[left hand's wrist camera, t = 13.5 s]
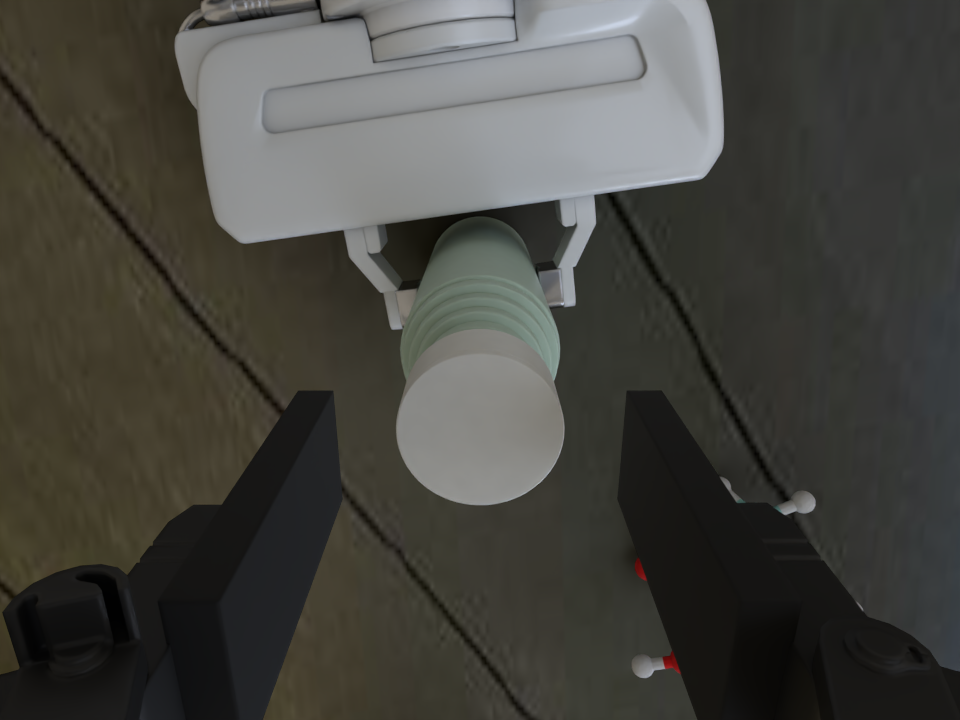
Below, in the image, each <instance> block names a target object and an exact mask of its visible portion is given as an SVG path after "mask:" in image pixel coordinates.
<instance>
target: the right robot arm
mask: <svg viewBox="0 0 960 720" xmlns="http://www.w3.org/2000/svg"><path fill="white" fill-rule="evenodd" d="M321 9H322V11H321ZM268 17H269V18H268ZM254 18H255V19H256V20H252V19H254ZM257 18H263V19H257ZM202 20H205V21H206V23H207V24H208V25H210V26H212V27H206V28H199V29H193V28H194V27H195V26H196V25H197V24H198V23H199V22H201V21H202ZM246 20H250V21H246ZM175 55H176V59H177V62H178V66H179V70H180V74H181V77H182V81H183V85H184V89H185V91H186V94H187V96H188V98H189V100H190V102H191V104H192V105H193V107H194V108H195V109H196V110H197V115H198V126H199V135H200V144H201V151H202V158H203V165H204V171H205V176H206V181H207V187H208V191H209V196H210V201H211V206H212V210H213V214H214V217H215V219H216V221H217V223H218V224H219V225H220V226H221V227H222V228H223V229H224V230H225V231H226V232H227V233H229V234H230V235H231V236H232V237H233V238H234V239H236V240H237V241H238V242H240V243H244V244H247V243H255V242H262V241H269V240H276V239H283V238H290V237H297V236H304V235H311V234H318V233H326V232H333V231H340V230H344V234H345V239H346V244H347V249H348V254H349V258H350V259H351V260H352V261H353V262H354V263H355V264H356V266H357V267H358V268H359V269H360V270H361V271H362V272H363V274H364V275H365V276H366V277H367V278H368V279H369V280H370V282H371V283H372V284H373V285H374V286H375V287H376V288H377V289H378V291H379V292H380V293H384V298H385V303H386V309H387V314H388V319H389V324H390V327H391V329H392V330H396V329H403V328H404V326H405V323H406V321H407V318H408V315H409V313H410V310H411V307H412V305H413V302H414V300H415V297H416V294H417V292H418V289H419V286H420V284H421V279H420V280H411V281H403V280H402V279H401V278H400V276H399V275H398V274H397V273H396V271H395V270H394V269H393V268H392V266H391V265H390V264H389V263H388V261H387V260H386V259H385V258H384V256H383V255H382V254H381V253H380V251H381V250H382V248H383V247H384V246H385V245H386V243H387V242H388V238H387V232H386V227H385V224H389V223H396V222H404V221H411V220H418V219H425V218H432V217H439V216H446V215H453V214H460V213H467V212H474V211H482V210H489V209H496V208H503V207H510V206H517V205H524V204H531V203H538V202H545V201H552V200H555V208H556V217H557V219H558V220H559V221H560V222H561V224H562V225H564V226H565V227H567V228H566V230H565V233H564V235H563V237H562V239H561V242H560V244H559V246H558V249H557V251H556V253H555V256H554V258H553V261H549V262H543V263H537V264H535V269H536V274H537V277H538V280H539V282H540V285H541V287H542V290H543V293H544V295H545V298H546V301H547V303H548V306H549V309H554V308H562V307H569V306H575V288H574V277H573V267H574V266H576V264H577V262H578V260H579V258H580V256H581V254H582V252H583V250H584V248H585V245H586V243H587V241H588V239H589V237H590V235H591V233H592V231H593V229H594V227H595V225H596V215H595V201H594V195H595V194H602V193H609V192H616V191H623V190H630V189H638V188H645V187H652V186H659V185H666V184H673V183H680V182H687V181H694V180H699V179H702V178H704V177H705V176H706V175H707V173H708V172H709V171H710V169H711V168H712V166H713V165H714V163H715V162H716V160H717V158H718V157H719V155H720V154H721V152H722V149H723V143H724V116H723V98H722V86H721V76H720V67H719V59H718V52H717V45H716V39H715V32H714V27H713V22H712V17H711V14H710V10H709V7H708V5H707V2H706V0H200V8H198V9H196V10H194V11H193V12H191V13H190V14H189V15H188V16H187V17H186V18H185V19H184V21H183V22H182V24H181V26H180V27H179V30H178V33H177V35H176V37H175Z"/></svg>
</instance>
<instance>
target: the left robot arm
mask: <svg viewBox="0 0 960 720" xmlns="http://www.w3.org/2000/svg"><path fill="white" fill-rule="evenodd" d="M341 502H342V488H341V476H340V464H339V453H338V441H337V429H336V417H335V406H334V394H333V391H298V392H297V393H296V395H295V396H294V398H293V399H292V401H291V402H290V404H289V405H288V407H287V408H286V410H285V411H284V413H283V414H282V416H281V417H280V419H279V420H278V422H277V423H276V425H275V426H274V428H273V429H272V431H271V432H270V434H269V435H268V437H267V438H266V440H265V441H264V443H263V444H262V446H261V447H260V449H259V450H258V452H257V453H256V455H255V456H254V458H253V459H252V460H251V462H250V463H249V465H248V466H247V468H246V469H245V471H244V472H243V474H242V475H241V477H240V478H239V480H238V481H237V483H236V484H235V486H234V487H233V489H232V490H231V492H230V493H229V495H228V496H227V498H226V499H225V501H224V502H223V504H222V505H193V506H191V507H190V508H188V509H187V510H185V511H184V512H182V513H181V514H179V515H178V516H177V517H175V518H174V519H172V520H171V521H169V522H168V523H167V525H166V526H165V527H164V529H163V530H162V531H161V532H160V534H159V535H158V536H157V538H156V539H155V540H154V541H153V546H150V547H149V548H148V549H147V550H146V552H145V553H144V554H143V556H142V557H141V558H140V563H136V565H135V566H134V567H133V569H132V570H131V571H130V572H129V574H128V575H126V574H125V573H124V572H123V571H121V570H120V569H119V568H117V567H113V566H108V565H103V564H97V565H85V566H78V567H74V568H70V569H67V570H63V571H60V572H56V573H54V574H52V575H50V576H48V577H46V578H43V579H41V580H39V581H37V582H35V583H33V584H32V585H30V586H29V587H28V588H26V589H25V590H23V591H22V592H21V593H19V594H18V595H17V596H15V597H14V598H13V600H12V601H11V602H10V603H9V605H8V606H7V607H6V608H5V610H4V611H3V612H2V613H3V616H4V619H5V622H6V625H7V629H8V632H9V635H10V638H11V641H12V644H13V647H14V651H15V654H16V657H17V660H18V663H19V666H20V668H19V670H15V671H12V672H9V673H5V674H1V675H0V720H263V717H264V714H265V711H266V709H267V706H268V703H269V700H270V698H271V695H272V692H273V689H274V687H275V684H276V681H277V678H278V676H279V673H280V670H281V667H282V665H283V662H284V659H285V656H286V654H287V651H288V648H289V645H290V642H291V640H292V637H293V634H294V631H295V629H296V626H297V623H298V620H299V618H300V615H301V612H302V609H303V607H304V604H305V601H306V598H307V596H308V593H309V590H310V587H311V585H312V582H313V579H314V576H315V574H316V571H317V568H318V565H319V562H320V560H321V557H322V554H323V551H324V549H325V546H326V543H327V540H328V538H329V535H330V532H331V529H332V527H333V524H334V521H335V518H336V516H337V513H338V510H339V507H340V505H341ZM618 502H619V505H620V507H621V510H622V513H623V516H624V518H625V521H626V524H627V527H628V529H629V532H630V535H631V538H632V540H633V543H634V546H635V549H636V551H637V554H638V557H639V560H640V562H641V565H642V568H643V571H644V574H645V576H646V579H647V582H648V585H649V587H650V590H651V593H652V596H653V598H654V601H655V604H656V607H657V609H658V612H659V615H660V618H661V620H662V623H663V626H664V629H665V631H666V634H667V637H668V640H669V642H670V645H671V648H672V651H673V654H674V656H675V659H676V662H677V665H678V667H679V670H680V673H681V676H682V678H683V681H684V684H685V687H686V689H687V692H688V695H689V698H690V700H691V703H692V706H693V709H694V711H695V714H696V717H697V720H960V672H958V671H954V670H951V669H947V668H944V667H941V666H939V664H938V663H937V661H936V660H935V658H934V657H933V655H932V654H931V652H930V651H929V650H928V649H927V648H926V647H925V646H923V645H922V644H921V643H920V642H919V641H917V640H916V639H915V638H914V637H913V636H911V635H909V634H908V633H906V632H904V631H902V630H900V629H898V628H896V627H895V626H893V625H891V624H888V623H885V622H882V621H879V620H876V619H872V618H869V617H867V616H866V614H865V613H864V612H863V611H862V609H861V608H860V607H859V605H858V604H857V603H856V602H855V600H854V599H853V598H852V596H851V595H850V594H849V593H848V591H847V590H846V589H845V587H844V586H843V585H842V584H841V582H840V581H839V580H838V578H837V577H836V576H835V575H834V573H833V572H832V571H831V569H830V568H829V567H828V566H827V564H826V563H825V562H824V561H821V560H820V555H819V554H818V553H817V552H816V550H815V549H814V548H813V546H812V545H811V544H808V543H807V539H806V537H805V536H804V535H803V534H802V532H801V531H800V530H799V528H798V527H797V526H796V525H795V523H794V522H793V521H792V520H791V519H790V518H788V517H787V516H785V515H784V514H782V513H781V512H780V511H778V510H777V509H775V508H774V507H772V506H771V505H769V504H768V503H737V502H736V501H735V499H734V498H733V496H732V495H731V493H730V492H729V490H728V489H727V487H726V486H725V484H724V483H723V481H722V480H721V478H720V477H719V475H718V474H717V472H716V471H715V469H714V468H713V466H712V465H711V463H710V462H709V461H708V459H707V458H706V456H705V455H704V453H703V452H702V450H701V449H700V447H699V446H698V444H697V443H696V441H695V440H694V438H693V437H692V435H691V434H690V432H689V431H688V429H687V428H686V426H685V425H684V423H683V422H682V420H681V419H680V417H679V416H678V414H677V413H676V411H675V410H674V408H673V407H672V405H671V404H670V402H669V401H668V399H667V398H666V396H665V395H664V393H663V392H662V391H627V394H626V406H625V417H624V429H623V441H622V453H621V464H620V476H619V488H618Z"/></svg>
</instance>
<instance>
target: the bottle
mask: <svg viewBox="0 0 960 720" xmlns="http://www.w3.org/2000/svg"><path fill="white" fill-rule="evenodd" d="M470 329H490V330H497V331H501V332H505V333H507V334H510V335H512V336H515V337H517V338H518V339H520V340H522V341H524V342H525V343H527V344H528V345H529V346H531V347H532V348H533V349H534V350H535V351H536V352H537V353H538V354H539V355H540V357H541V358H542V359H543V360H544V362H545V363H546V365H547V367H548V368H549V370H550V373H551V375H552V378H553V381H554V379H555V376H556V373H557V368H558V364H559V358H560V342H559V335H558V331H557V327H556V325H555V322H554V319H553V317H552V314H551V311H550V309H549V306H548V303H547V301H546V298H545V295H544V293H543V290H542V287H541V285H540V282H539V280H538V277H537V274H536V272H535V269H534V266H533V264H532V261H531V258H530V256H529V253H528V250H527V248H526V245H525V243H524V242H523V240H522V238H521V237H520V236H519V234H518V233H517V232H516V231H515V230H514V229H513V228H511V227H510V226H509V225H507V224H506V223H504V222H502V221H500V220H497V219H494V218H490V217H470V218H467V219H463V220H461V221H459V222H457V223H455V224H453V225H452V226H450V227H449V228H448V229H447V230H446V231H445V232H444V233H443V234H442V235H441V236H440V238H439V239H438V241H437V243H436V245H435V247H434V249H433V252H432V255H431V257H430V260H429V263H428V265H427V268H426V271H425V273H424V276H423V278H422V281H421V284H420V286H419V289H418V292H417V294H416V297H415V300H414V302H413V305H412V307H411V310H410V313H409V315H408V318H407V321H406V323H405V326H404V329H403V333H402V337H401V347H400V351H401V361H402V367H403V370H404V375H405V378H406V381H407V379H408V376H409V374H410V371H411V369H412V367H413V366H414V364H415V362H416V361H417V360H418V358H419V357H420V356H421V354H422V353H423V352H424V351H425V350H426V349H427V348H429V347H430V346H431V345H433V344H434V343H435V342H437V341H438V340H440V339H442V338H444V337H446V336H448V335H451V334H453V333H456V332H460V331H464V330H470Z"/></svg>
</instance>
